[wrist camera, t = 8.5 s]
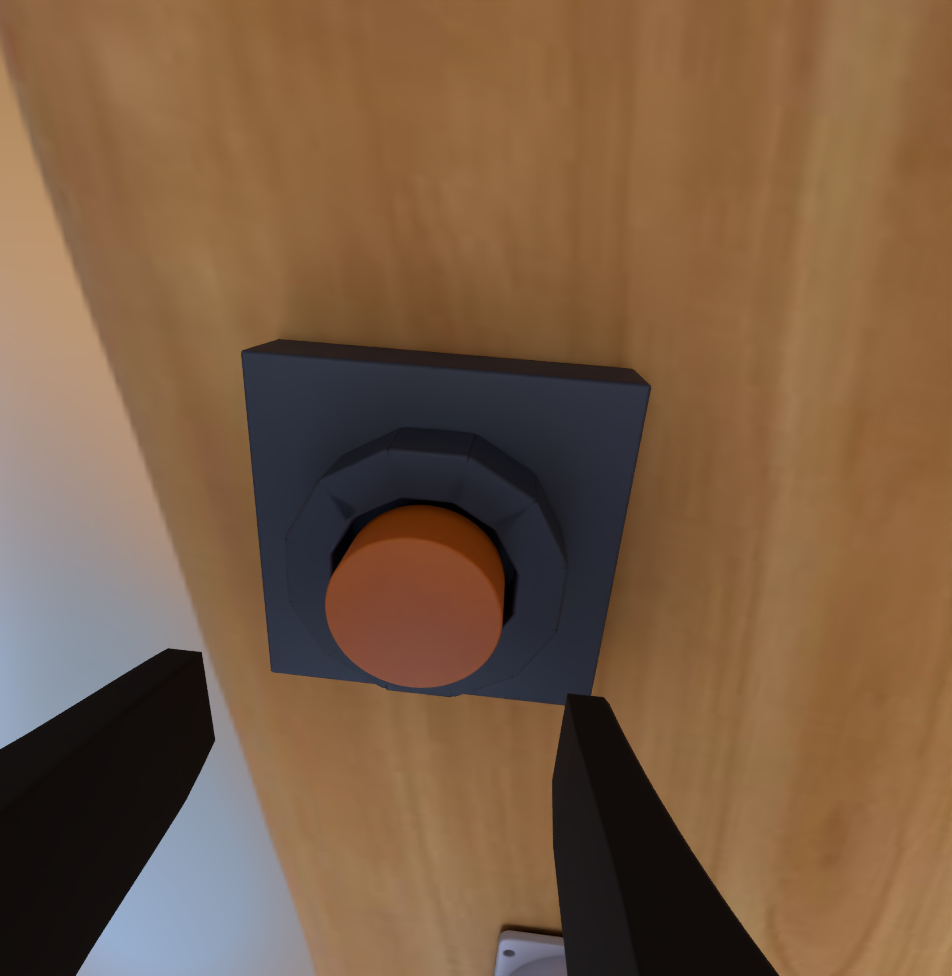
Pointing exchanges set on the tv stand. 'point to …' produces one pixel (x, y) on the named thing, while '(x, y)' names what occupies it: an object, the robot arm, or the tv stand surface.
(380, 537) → the button
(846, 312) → the tv stand surface
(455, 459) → the block
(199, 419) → the tv stand surface
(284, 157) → the tv stand surface
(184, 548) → the tv stand surface
